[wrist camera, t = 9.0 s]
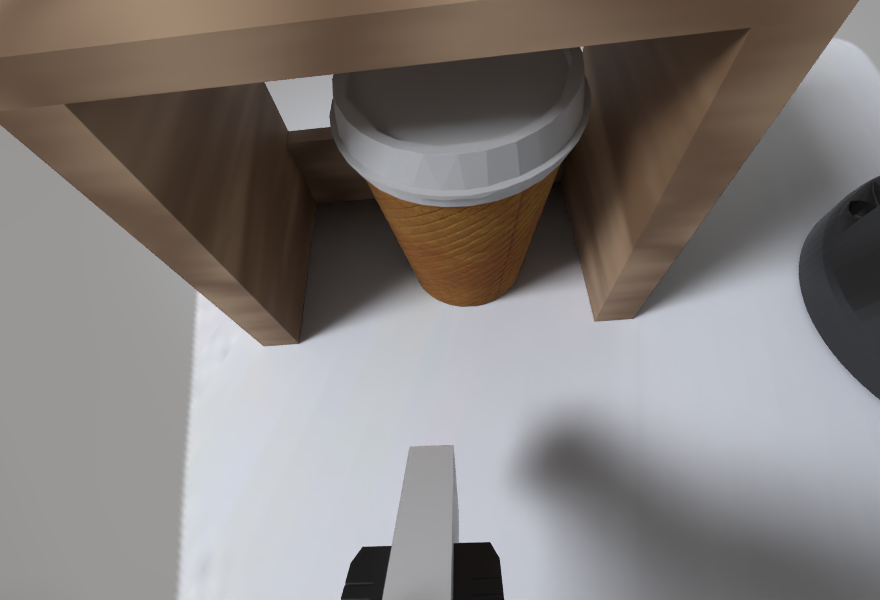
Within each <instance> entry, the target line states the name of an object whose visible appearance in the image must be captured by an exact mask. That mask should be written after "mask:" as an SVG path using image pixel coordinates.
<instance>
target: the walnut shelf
mask: <svg viewBox="0 0 880 600" xmlns="http://www.w3.org/2000/svg"><path fill="white" fill-rule="evenodd" d="M858 1H859V0H0V125H1V126H2V127H4V128H5V129H6V130H7V131H8V132H10V133H11V134H12V135H13V136H14V137H16V138H17V139H18V140H19V141H20V142H21V143H23V144H24V145H25V146H26V147H27V148H29V149H30V150H31V151H32V152H33V153H35V154H36V155H37V156H38V157H39V158H41V159H42V160H43V161H44V162H45V163H47V164H48V165H49V166H50V167H51V168H52V169H54V170H55V171H56V172H57V173H58V174H59V175H61V176H62V177H63V178H64V179H66V180H67V181H68V182H69V183H70V184H71V185H73V186H74V187H75V188H76V189H77V190H78V191H80V192H81V193H82V194H83V195H84V196H86V197H87V198H88V199H89V200H90V201H92V202H93V203H94V204H95V205H96V206H98V207H99V208H100V209H101V210H102V211H104V212H105V213H106V214H107V215H108V216H110V217H111V218H112V219H113V220H114V221H115V222H117V223H118V224H119V225H120V226H121V227H122V228H124V229H125V230H126V231H127V232H128V233H130V234H131V235H132V236H133V237H135V238H136V239H137V240H138V241H139V242H140V243H142V244H143V245H144V246H145V247H146V248H148V249H149V250H150V251H151V252H152V253H154V254H155V255H156V256H157V257H158V258H159V259H161V260H162V261H163V262H164V263H165V264H167V265H168V266H169V267H170V268H171V269H172V270H174V271H175V272H176V273H177V274H178V275H180V276H181V277H182V278H183V279H184V280H185V281H187V282H188V283H189V284H190V285H192V286H193V287H194V288H195V289H196V290H197V291H199V292H200V293H201V294H202V295H203V296H204V297H206V298H207V299H208V300H209V301H210V302H212V303H213V304H214V305H215V306H216V307H218V308H219V309H220V310H221V311H222V312H224V313H225V314H226V315H227V316H228V317H229V318H231V319H232V320H233V321H234V322H235V323H237V324H238V325H239V326H240V327H241V328H243V329H244V330H245V331H246V332H247V333H248V334H250V335H251V336H252V337H253V338H254V339H256V340H257V341H258V342H259V343H260V344H262V345H263V346H273V345H287V344H299V339H300V331H301V323H302V315H303V307H304V299H305V292H306V284H307V276H308V268H309V260H310V252H311V244H312V236H313V228H314V220H315V212H316V205H317V204H320V203H331V202H342V201H352V200H363V199H374V198H375V196H374V194H373V193H372V191H371V189H370V187H369V185H368V183H367V182H366V180H365V178H364V177H362V176H361V175H360V174H359V173H358V172H357V171H356V170H355V169H354V168H353V167H352V166H351V165H350V164H349V163H348V162H347V161H346V159H345V158H344V156H343V155H342V154H341V152H340V151H339V149H338V147H337V145H336V143H335V140H334V138H333V135H332V133H331V127H327V128H317V129H307V130H299V131H288V130H287V128H286V126H285V124H284V122H283V120H282V117H281V115H280V113H279V111H278V109H277V107H276V105H275V103H274V101H273V99H272V97H271V95H270V93H269V91H268V89H267V87H266V85H265V83H264V82H267V81H276V80H285V79H294V78H303V77H312V76H321V75H330V74H339V73H348V72H357V71H366V70H375V69H384V68H393V67H402V66H411V65H420V64H429V63H438V62H447V61H456V60H465V59H474V58H483V57H492V56H501V55H510V54H519V53H528V52H537V51H546V50H555V49H564V48H573V47H581V46H584V48H583V53H582V54H583V60H584V74H585V76H586V78H587V81H588V84H589V88H590V91H591V109H590V114H589V119H588V122H587V125H586V127H585V129H584V131H583V133H582V135H581V137H580V139H579V141H578V143H577V144H576V145H575V146H574V147H573V149H572V150H571V151H570V152H569V154H568V155H567V156H566V157H565V158H564V160H563V161H562V162H561V164H560V167H559V169H558V172H557V174H556V177H555V180H554V182H555V181H561V184H562V188H563V192H564V196H565V200H566V204H567V209H568V213H569V217H570V221H571V225H572V229H573V234H574V238H575V242H576V246H577V250H578V254H579V259H580V263H581V267H582V271H583V275H584V279H585V284H586V288H587V292H588V296H589V300H590V305H591V309H592V313H593V317H594V321H608V320H621V319H633V318H634V317H635V315H636V314H637V313H638V311H639V310H640V308H641V307H642V306H643V304H644V303H645V301H646V300H647V299H648V297H649V296H650V294H651V293H652V291H653V290H654V289H655V287H656V286H657V284H658V283H659V282H660V280H661V279H662V277H663V276H664V275H665V273H666V272H667V270H668V269H669V268H670V266H671V265H672V263H673V262H674V260H675V259H676V258H677V256H678V255H679V253H680V252H681V251H682V249H683V248H684V246H685V245H686V244H687V242H688V241H689V239H690V238H691V237H692V235H693V234H694V232H695V231H696V229H697V228H698V227H699V225H700V224H701V222H702V221H703V220H704V218H705V217H706V215H707V214H708V213H709V211H710V210H711V208H712V207H713V206H714V204H715V203H716V201H717V200H718V198H719V197H720V196H721V194H722V193H723V191H724V190H725V189H726V187H727V186H728V184H729V183H730V182H731V180H732V179H733V177H734V176H735V175H736V173H737V172H738V170H739V169H740V168H741V166H742V165H743V163H744V162H745V160H746V159H747V158H748V156H749V155H750V153H751V152H752V151H753V149H754V148H755V146H756V145H757V144H758V142H759V141H760V139H761V138H762V137H763V135H764V134H765V132H766V131H767V129H768V128H769V127H770V125H771V124H772V122H773V121H774V120H775V118H776V117H777V115H778V114H779V113H780V111H781V110H782V108H783V107H784V106H785V104H786V103H787V101H788V100H789V98H790V97H791V96H792V94H793V93H794V91H795V90H796V89H797V87H798V86H799V84H800V83H801V82H802V80H803V79H804V77H805V76H806V75H807V73H808V72H809V70H810V69H811V68H812V66H813V65H814V63H815V62H816V60H817V59H818V58H819V56H820V55H821V53H822V52H823V51H824V49H825V48H826V46H827V45H828V44H829V42H830V41H831V39H832V38H833V37H834V35H835V34H836V32H837V31H838V29H839V28H840V27H841V25H842V24H843V22H844V21H845V20H846V18H847V17H848V15H849V14H850V13H851V11H852V10H853V8H854V7H855V6H856V4H857V3H858Z"/></svg>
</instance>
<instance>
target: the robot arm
mask: <svg viewBox="0 0 880 600" xmlns="http://www.w3.org/2000/svg"><path fill="white" fill-rule="evenodd" d="M799 281H800V287H801V292H802V296H803V299H804V303H805V305H806V308H807V311H808V313H809V315H810V317H811V319H812V322H813V323H814V325H815V327H816V329H817V331H818V332H819V334H820V336H821V337H822V339H823V340H824V342H825V343H826V345H827V346H828V347H829V349H830V350H831V351H832V353H833V354H834V355H835V356H836V357H837V359H838V360H839V361H840V362H841V363H842V365H843V366H844V367H845V368H846V369H847V370H848V371H849V372H850V373H851V374H852V375H853V376H854V377H855V378H856V379H857V380H858V381H859V382H860V383H861V384H862V385H863V386H864V387H866V388H867V389H868V390H869V391H870V392H871V393H872V394H874V395H875V396H876V397H877V398H879V399H880V176H878V177H876V178H874V179H872V180H870V181H868V182H866V183H865V184H863V185H862V186H860V187H858V188H857V189H855V190H854V191H853V192H851V193H850V194H849V195H847V196H846V197H845V198H844V199H843V200H842V201H841V202H840V203H838V204H837V205H836V206H835V207H834V208H833V209H832V210H831V211H830V212H829V213H828V214H826V215H825V216H824V217H823V218H822V219H821V220H820V221H819V222H818V223H817V224H816V225H815V226H814V228H813V229H812V230H811V232H810V233H809V235H808V236H807V238H806V240H805V242H804V245H803V248H802V251H801V255H800V261H799ZM341 600H504V595H503V585H502V576H501V567H500V558H499V557H498V555H497V553H496V551H495V550H494V548H493V546H492V545H491V543H490V542H482V543H459V510H458V497H457V484H456V471H455V458H454V445H442V446H417V447H410V448H409V453H408V459H407V464H406V470H405V475H404V481H403V487H402V492H401V498H400V503H399V509H398V514H397V520H396V525H395V531H394V537H393V542H392V546H376V547H362V548H361V550H360V551H359V553H358V554H357V555H356V557H355V558H354V559H353V561H352V562H351V564H350V568H349V571H348V575H347V579H346V582H345V586H344V589H343V593H342V596H341Z"/></svg>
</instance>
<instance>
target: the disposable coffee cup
mask: <svg viewBox="0 0 880 600" xmlns="http://www.w3.org/2000/svg"><path fill="white" fill-rule="evenodd" d="M332 82H333V99H332V105H331V111H330V125H331V133H332V135H333V138H334V140H335V143H336V145H337V147H338V149H339V151H340V152H341V154H342V155H343V156H344V158H345V159H346V161H347V162H348V163H349V164H350V165H351V166H352V167H353V168H354V169H355V170H356V171H357V172H358V173H359V174H360V175H361V176H362V177H364V178H365V180H366V182H367V183H368V185H369V187H370V189H371V191H372V193H373V194H374V196H375V199H376V201H377V202H378V204H379V206H380V209H381V210H382V212H383V213H384V216H385V218H386V220H387V221H388V224H389V226H390V227H391V229H392V231H393V233H394V235H395V236H396V239H397V241H398V242H399V244H400V247H401V248H402V250H403V252H404V254H405V256H406V258H407V260H408V261H409V263H410V265H411V267H412V269H413V271H414V273H415V275H416V277H417V279H418V281H419V283H420V284H421V286H422V287H423V289H424V290H425V291H426V292H428V293H429V294H430V295H431V296H432V297H434V298H436V299H437V300H439V301H441V302H444V303H447V304H450V305H455V306H477V305H482V304H485V303H488V302H491V301H493V300H495V299H496V298H498V297H500V296H501V295H503V294H504V293H505V292H506V291H507V290H509V289H510V288H511V286H512V285H513V283H514V282H515V281H516V279H517V276H518V274H519V272H520V269H521V266H522V263H523V260H524V258H525V255H526V253H527V250H528V247H529V245H530V242H531V240H532V237H533V234H534V232H535V229H536V227H537V224H538V221H539V219H540V216H541V213H542V211H543V208H544V206H545V203H546V200H547V198H548V195H549V193H550V190H551V187H552V185H553V182H554V180H555V177H556V174H557V172H558V169H559V167H560V164H561V162H562V161H563V160H564V158H565V157H566V156H567V155H568V154H569V152H570V151H571V150H572V149H573V147H574V146H575V145H576V144H577V143H578V141H579V139H580V137H581V135H582V133H583V131H584V129H585V127H586V125H587V122H588V119H589V114H590V109H591V91H590V88H589V84H588V81H587V78H586V76H585V74H584V60H583V54H582V51H581V49H580V47H573V48H564V49H555V50H546V51H537V52H528V53H519V54H510V55H501V56H492V57H483V58H474V59H465V60H456V61H447V62H438V63H429V64H420V65H411V66H402V67H393V68H384V69H375V70H366V71H357V72H348V73H339V74H334V75H333V79H332Z"/></svg>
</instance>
